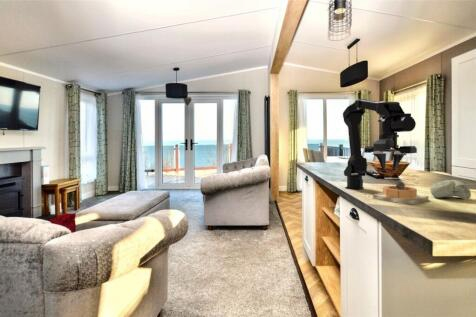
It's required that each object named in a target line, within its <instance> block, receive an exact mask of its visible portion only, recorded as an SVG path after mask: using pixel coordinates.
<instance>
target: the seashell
mask: <svg viewBox="0 0 476 317" xmlns="http://www.w3.org/2000/svg"><path fill="white" fill-rule="evenodd" d="M430 194H431V196H433V197H434V198H439V199H440V198H441V199H442V198H447V199H449V198H453V197H457V198H460V199H461V200H469V199H471V197H472V193H471V189H470V188H469V186H468V185H467V184H465V183H464V182H461V181H459V180H455V179H447V180H441V181H438V182H436V183H434V184H432V185H431V186H430Z"/></svg>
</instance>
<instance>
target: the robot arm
mask: <svg viewBox="0 0 476 317" xmlns="http://www.w3.org/2000/svg"><path fill="white" fill-rule="evenodd" d="M366 110H367V111H374V112H376V114H377V115H379V116H381V117H380V118H379V119H378V120H377V122H378V123H381V133H380V135H379V137H378V139H377V140H376V141H374V142H373V143H372V145H366V146H365V147H364V149H363V150H364V151H363V152H364V153H365V154H366V153H368V154H369V153H372V155H373V156H375V157H376V158H377V160H378V163H379V165H380V167H381V170H382V171H385V170H386V164H387V162H386V160H387V153H392V154H391V155H392V158H393V161H392V162H393V163H392V171H393V172H396V171H397V168H398V166H399V165H400V162H401V161H402V159H403V158H404V156H407V155H408V154H409V155H410V154H417V153H418V152H417V151H418V148H417V147H416V145H400V144H398V138H399V137H400V135H399V134H398V133H404V132H406V133H407V132H412V131H413V130H415V128H416V125H417V122H416V120H415V118H414V117H413V116H412V113H408V112H407V113H405V111H404V109H403V108H402V107H401V104H400V102H399V101H375V100H369V99H367V98H366V99H364V98H362V99H361V98H359V99H356V100H355V101H354V102H353V103H352V104H350V105H348V106H347V107H346V108H345V109H344V111H343V112H342V119H343V122H344V124H345V125H346V127H347V128H348V129H347V130H348V131H347V132H348V143H349V153H350V155H349V158H348V159H347V166H346V168H345V169H344V171H343V175H344V176H345V177H346V183H347V184H346V186H345V187H344V189H350V190H361V189H364V188H365V187H364V179H363V177H365V176H366V174H367V170H368V161H367V160H368V159H367V157H364V156H363V154H362V147H361V137H360V136H361V134H360V124H361V122H362V120H363V119H362V118H363V115H365V113H366ZM385 152H386V153H385ZM344 176H343V177H344Z"/></svg>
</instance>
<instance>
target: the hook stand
mask: <svg viewBox="0 0 476 317" xmlns="http://www.w3.org/2000/svg"><path fill="white" fill-rule="evenodd" d="M395 186H396V187H397V190H404V187H405V186H406V184H405V183H404V182H402V181H398V182H397V183H396V184H395ZM372 197H373V198H372V199H375V200H380V201H386V202H392V203H393V202H394V203H399V204H405V205H410V204H411V206H415V205H417V204H421V203H423V202H427V201H429V196H428V195H421V194H417V197H414V198H394V197H388V196H385V195H383V192H379V193H375V194H373V195H372Z"/></svg>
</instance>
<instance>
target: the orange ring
mask: <svg viewBox="0 0 476 317" xmlns="http://www.w3.org/2000/svg"><path fill="white" fill-rule="evenodd" d="M417 190H418V189H417V188H415V187H413V186H412V187H411V186H406V185H405V187H404V190H397V187H396V185H386V186H382V193H383V195H385V196H388V197H394V198H414V197H417V195H418V194H417V193H418V192H417Z"/></svg>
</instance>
